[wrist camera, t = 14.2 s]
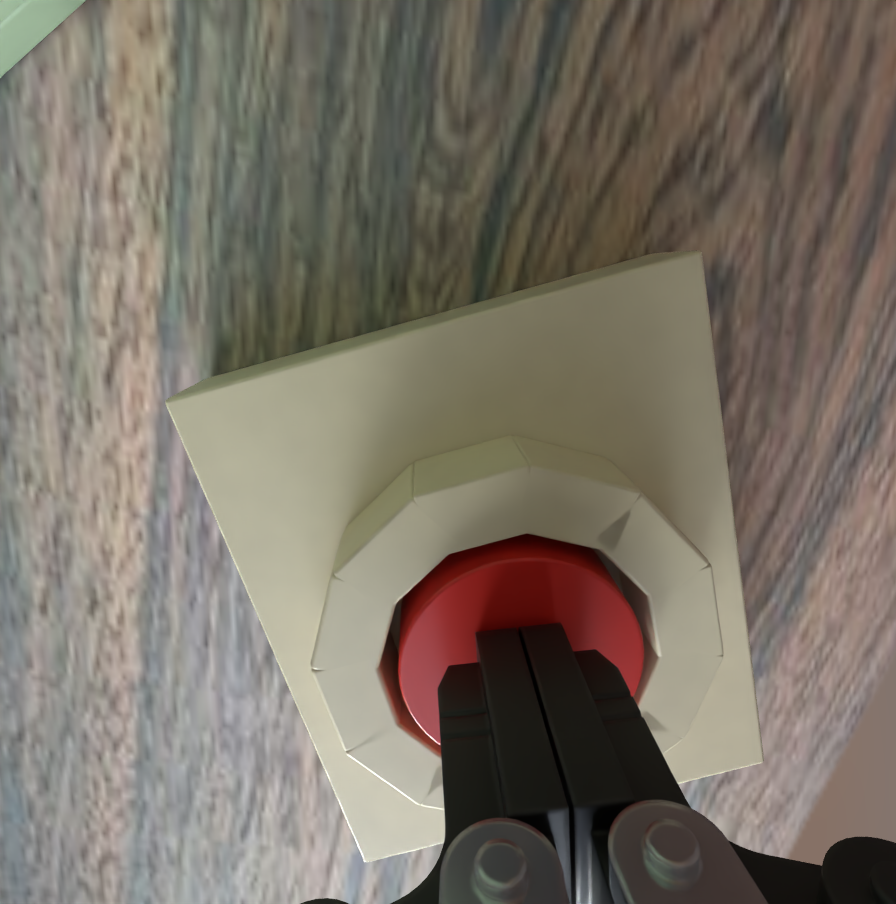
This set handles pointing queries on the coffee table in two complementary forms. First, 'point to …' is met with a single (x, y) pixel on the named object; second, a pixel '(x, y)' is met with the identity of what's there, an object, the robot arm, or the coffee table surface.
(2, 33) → the cupboard
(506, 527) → the switch block
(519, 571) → the button
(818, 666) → the coffee table surface
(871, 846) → the robot arm
